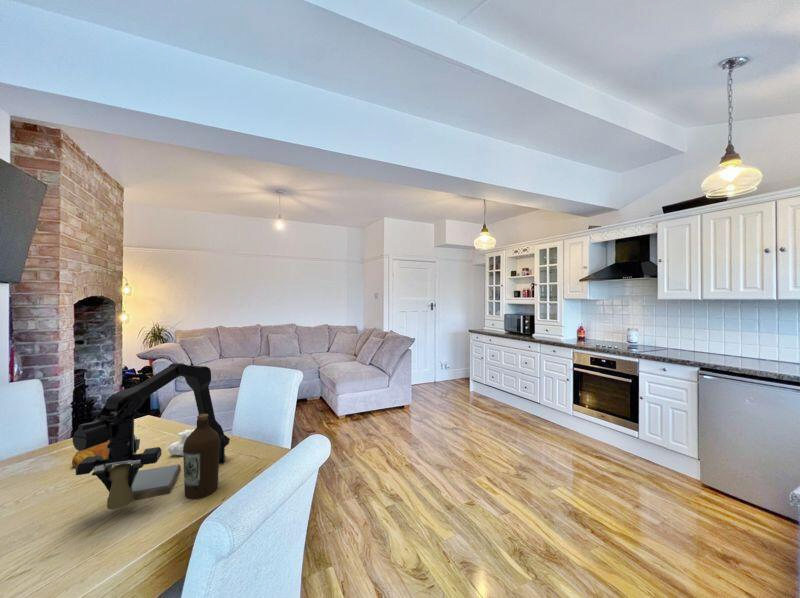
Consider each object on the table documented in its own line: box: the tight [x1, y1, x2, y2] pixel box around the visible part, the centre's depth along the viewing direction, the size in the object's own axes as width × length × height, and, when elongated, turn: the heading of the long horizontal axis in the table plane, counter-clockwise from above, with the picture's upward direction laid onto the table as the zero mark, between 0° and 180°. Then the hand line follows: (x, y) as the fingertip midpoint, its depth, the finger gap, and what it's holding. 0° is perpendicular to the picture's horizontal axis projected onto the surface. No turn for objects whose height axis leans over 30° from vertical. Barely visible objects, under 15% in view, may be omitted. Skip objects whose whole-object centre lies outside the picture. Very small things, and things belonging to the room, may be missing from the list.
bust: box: [167, 428, 196, 457], centre depth 134 cm, size 12×8×11 cm
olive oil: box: [182, 414, 220, 500], centre depth 108 cm, size 11×11×25 cm
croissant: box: [71, 440, 109, 468], centre depth 128 cm, size 14×16×8 cm
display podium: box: [106, 464, 182, 503], centre depth 110 cm, size 16×16×2 cm
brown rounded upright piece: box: [106, 463, 134, 510], centre depth 96 cm, size 6×6×11 cm
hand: (120, 489), depth 96 cm, fingers closed on brown rounded upright piece, 4 cm apart
